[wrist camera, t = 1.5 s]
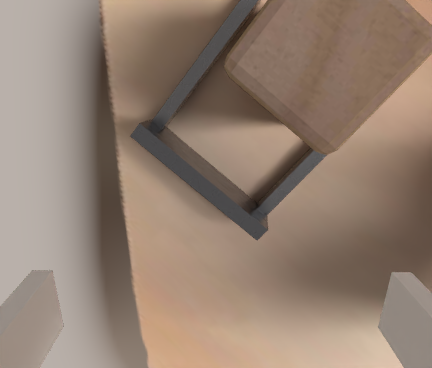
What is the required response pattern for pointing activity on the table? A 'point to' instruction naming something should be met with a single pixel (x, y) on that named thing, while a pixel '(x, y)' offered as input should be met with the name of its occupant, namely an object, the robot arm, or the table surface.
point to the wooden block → (328, 62)
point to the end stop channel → (196, 165)
